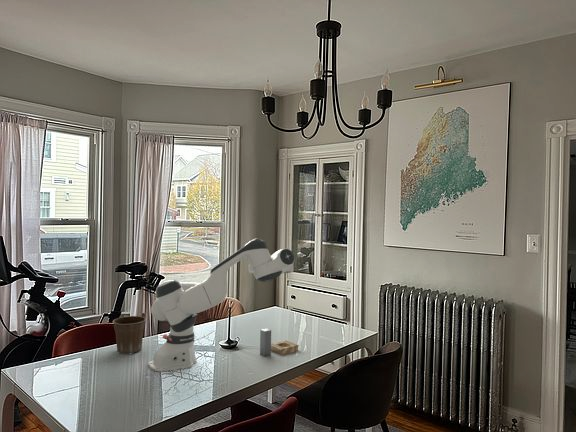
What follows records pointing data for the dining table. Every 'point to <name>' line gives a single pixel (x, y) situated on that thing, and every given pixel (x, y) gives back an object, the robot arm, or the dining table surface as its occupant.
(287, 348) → the well block
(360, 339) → the dining table surface
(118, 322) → the plant pot
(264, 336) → the post
